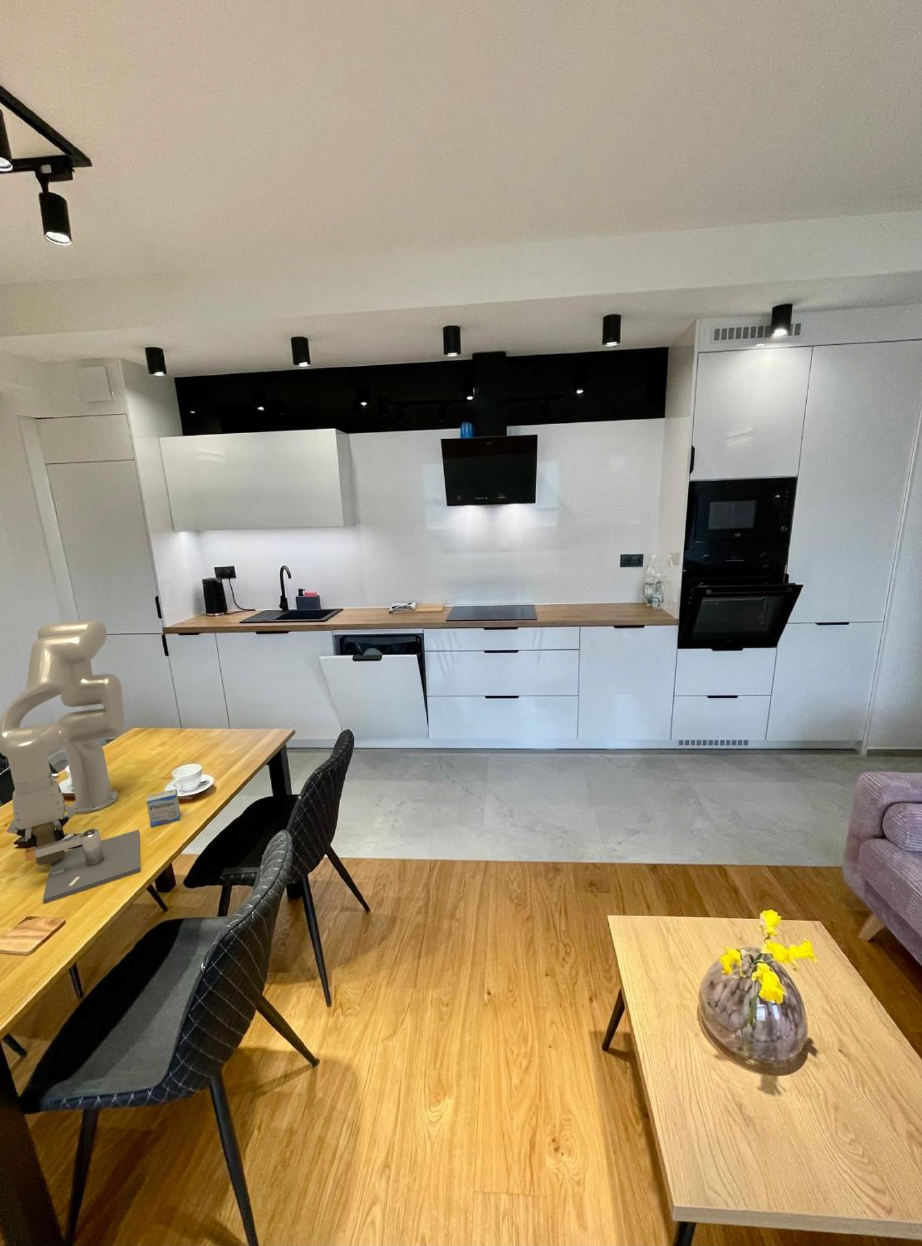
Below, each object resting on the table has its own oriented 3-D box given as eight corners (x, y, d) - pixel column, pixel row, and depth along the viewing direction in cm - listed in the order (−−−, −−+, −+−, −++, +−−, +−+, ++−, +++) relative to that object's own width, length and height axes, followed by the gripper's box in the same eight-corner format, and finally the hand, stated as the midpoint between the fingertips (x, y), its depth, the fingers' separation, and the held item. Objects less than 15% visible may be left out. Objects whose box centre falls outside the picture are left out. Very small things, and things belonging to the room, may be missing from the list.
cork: (49, 866, 134) (40, 828, 131) (30, 864, 135) (21, 826, 133) (70, 851, 140) (62, 815, 137) (52, 849, 141) (43, 813, 138)
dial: (104, 853, 140) (98, 825, 138) (103, 861, 136) (98, 833, 135) (33, 875, 132) (26, 846, 130) (30, 884, 129) (23, 854, 127)
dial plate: (54, 858, 140) (53, 854, 140) (139, 833, 151) (138, 828, 150) (43, 903, 124) (42, 898, 124) (140, 871, 134) (139, 866, 134)
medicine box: (150, 828, 153) (145, 802, 151) (151, 820, 157) (147, 794, 155) (180, 820, 157) (176, 794, 155) (180, 813, 161) (176, 788, 159)
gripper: (75, 767, 140) (87, 827, 144) (-7, 787, 131) (9, 850, 135) (73, 779, 134) (86, 840, 138) (-13, 800, 125) (4, 865, 129)
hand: (48, 844), depth 136 cm, fingers closed on cork, 4 cm apart
